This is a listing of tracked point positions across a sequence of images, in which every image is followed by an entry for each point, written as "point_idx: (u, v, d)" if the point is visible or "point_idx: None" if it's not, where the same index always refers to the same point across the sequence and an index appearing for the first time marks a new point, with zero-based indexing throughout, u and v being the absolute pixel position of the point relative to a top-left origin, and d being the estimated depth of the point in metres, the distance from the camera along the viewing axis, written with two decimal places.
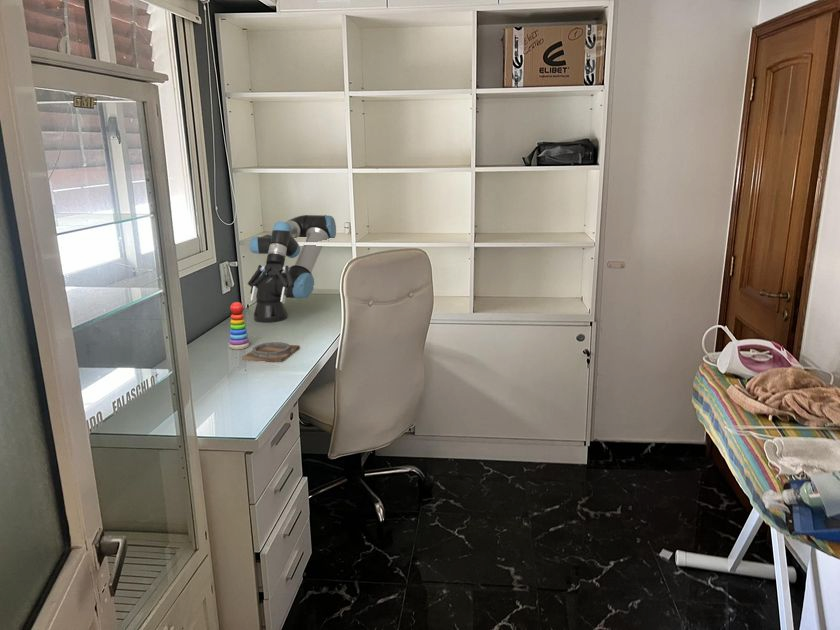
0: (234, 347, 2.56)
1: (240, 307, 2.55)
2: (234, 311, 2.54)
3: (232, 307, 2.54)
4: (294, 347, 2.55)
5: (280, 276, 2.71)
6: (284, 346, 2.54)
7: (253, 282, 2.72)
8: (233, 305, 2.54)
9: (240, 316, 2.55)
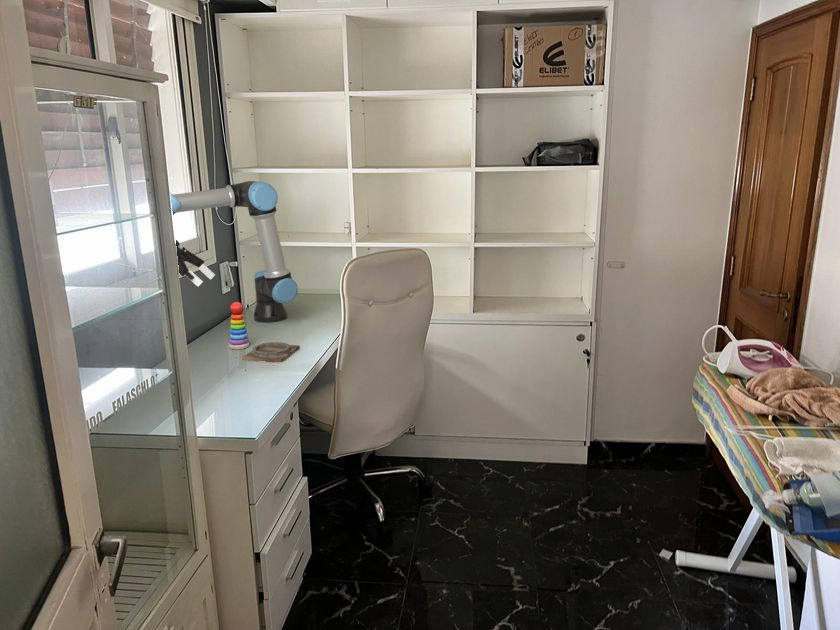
0: (234, 347, 2.56)
1: (240, 307, 2.55)
2: (234, 311, 2.54)
3: (232, 307, 2.54)
4: (294, 347, 2.55)
5: None
6: (284, 346, 2.54)
7: None
8: (233, 305, 2.54)
9: (240, 316, 2.55)
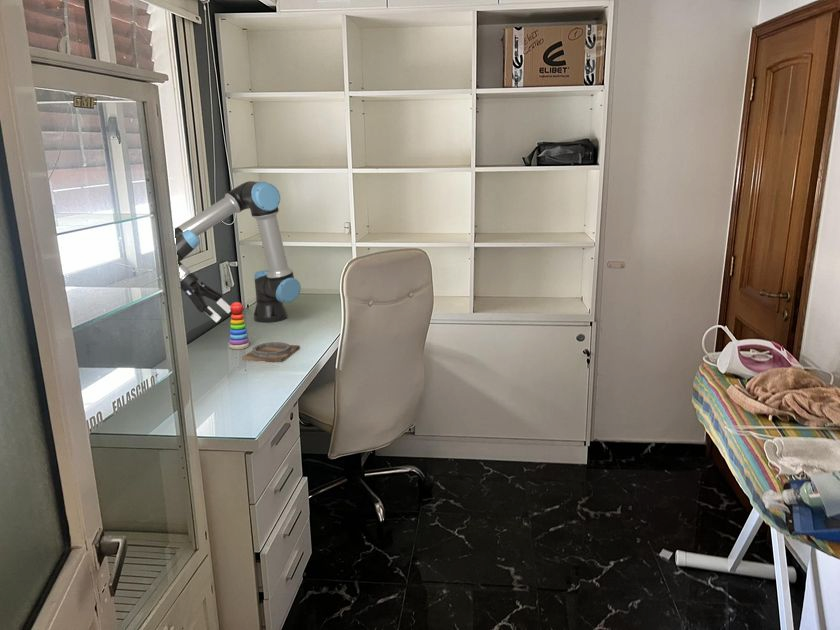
0: (234, 347, 2.56)
1: (240, 307, 2.55)
2: (234, 311, 2.54)
3: (232, 307, 2.54)
4: (294, 347, 2.55)
5: None
6: (284, 346, 2.54)
7: None
8: (233, 305, 2.54)
9: (240, 316, 2.55)
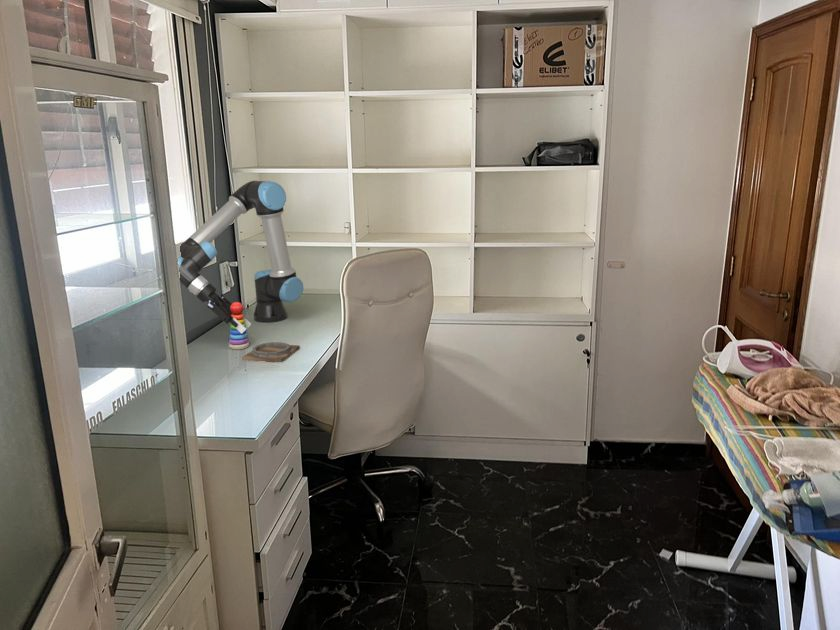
0: (234, 347, 2.56)
1: (240, 307, 2.54)
2: (234, 311, 2.54)
3: (232, 307, 2.54)
4: (294, 347, 2.55)
5: None
6: (284, 346, 2.54)
7: None
8: (233, 305, 2.54)
9: (240, 316, 2.55)
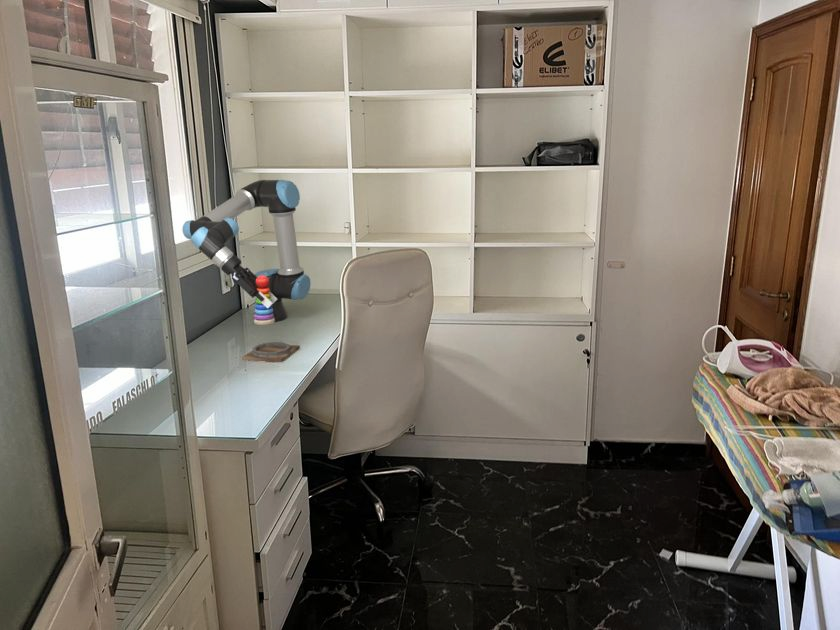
0: (259, 322, 2.44)
1: (266, 280, 2.42)
2: (260, 285, 2.41)
3: (258, 280, 2.41)
4: (294, 347, 2.55)
5: None
6: (284, 346, 2.54)
7: None
8: (259, 278, 2.41)
9: (266, 290, 2.43)
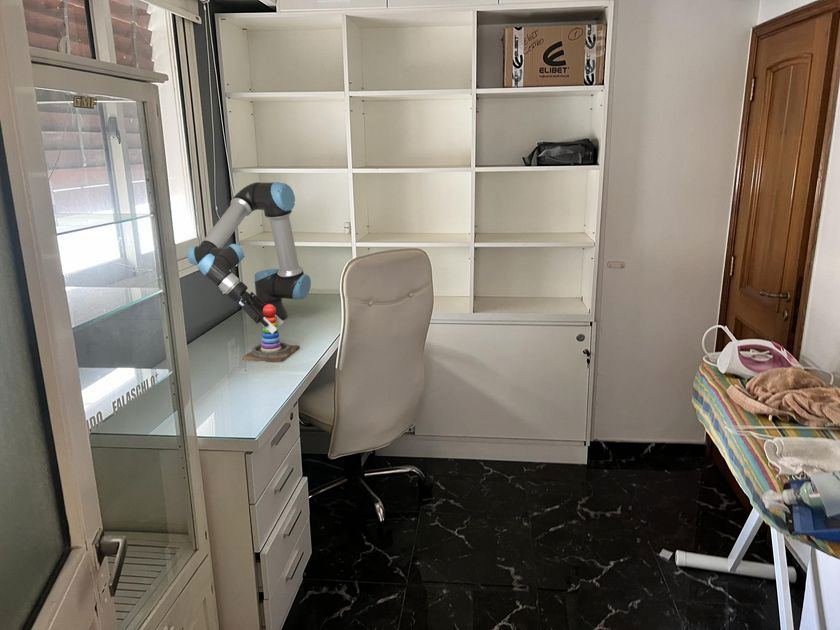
0: (266, 351, 2.46)
1: (273, 310, 2.45)
2: (267, 314, 2.44)
3: (265, 310, 2.44)
4: (294, 347, 2.55)
5: None
6: (284, 346, 2.54)
7: None
8: (266, 307, 2.44)
9: (273, 319, 2.46)
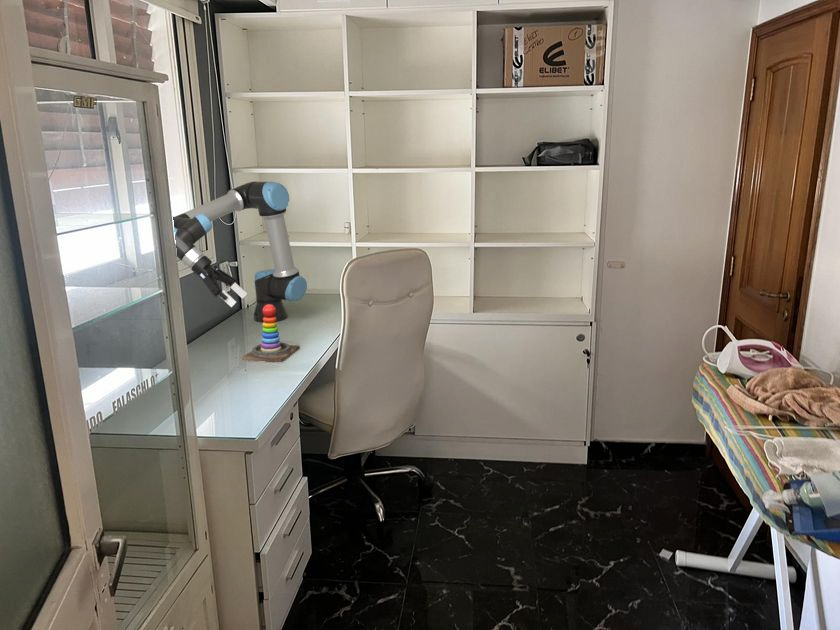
0: (266, 351, 2.47)
1: (273, 309, 2.45)
2: (267, 314, 2.45)
3: (265, 309, 2.44)
4: (294, 347, 2.55)
5: None
6: (284, 346, 2.54)
7: None
8: (266, 307, 2.45)
9: (273, 319, 2.46)
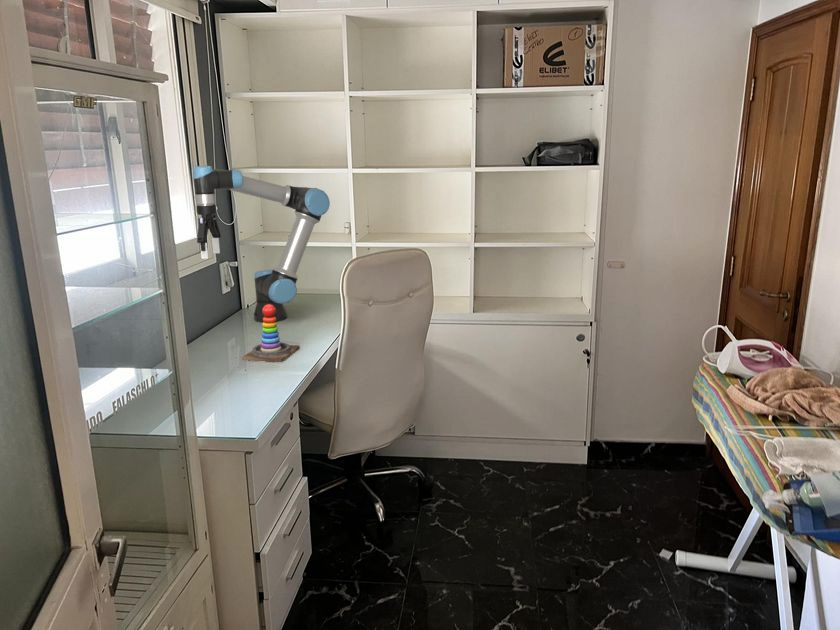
0: (266, 351, 2.47)
1: (273, 310, 2.45)
2: (266, 314, 2.45)
3: (264, 310, 2.44)
4: (294, 347, 2.55)
5: None
6: (284, 346, 2.54)
7: None
8: (265, 307, 2.45)
9: (273, 319, 2.46)
